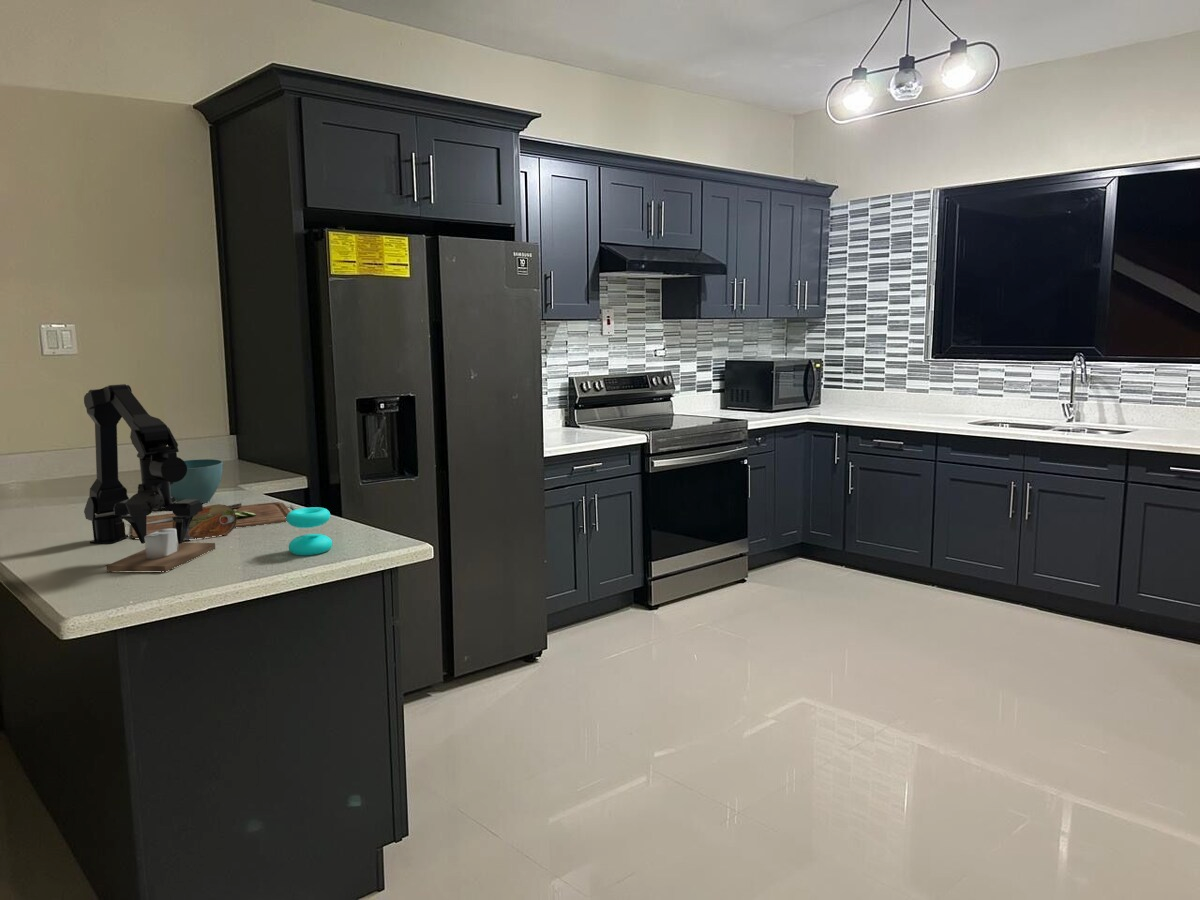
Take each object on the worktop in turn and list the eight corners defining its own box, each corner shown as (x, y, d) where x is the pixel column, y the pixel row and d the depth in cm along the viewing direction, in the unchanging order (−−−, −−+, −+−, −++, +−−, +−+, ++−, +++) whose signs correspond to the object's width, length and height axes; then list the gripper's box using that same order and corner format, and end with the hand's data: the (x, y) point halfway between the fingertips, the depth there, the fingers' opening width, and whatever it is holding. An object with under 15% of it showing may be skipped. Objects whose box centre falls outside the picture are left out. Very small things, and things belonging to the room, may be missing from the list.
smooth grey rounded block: (142, 558, 196) (140, 537, 196) (166, 548, 205) (164, 528, 204) (158, 559, 196) (156, 537, 195) (182, 548, 205) (180, 528, 204)
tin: (175, 543, 216) (172, 511, 215) (173, 541, 219) (169, 509, 217) (238, 534, 225) (235, 502, 224) (235, 531, 227) (232, 500, 226)
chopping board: (121, 544, 219) (119, 532, 218) (123, 523, 242) (122, 512, 242) (304, 521, 239) (303, 511, 239) (290, 504, 263) (289, 494, 262)
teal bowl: (225, 505, 261) (221, 465, 259) (158, 511, 255) (154, 470, 253) (226, 494, 278) (223, 457, 276) (164, 500, 271) (160, 461, 269)
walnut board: (107, 571, 192) (106, 565, 192) (161, 548, 211) (161, 542, 211) (165, 572, 190) (165, 566, 190) (215, 548, 210) (214, 542, 210)
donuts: (330, 504, 211) (329, 513, 201) (333, 544, 212) (332, 554, 203) (287, 508, 208) (284, 516, 198) (290, 548, 209) (287, 558, 200)
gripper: (93, 484, 191) (101, 552, 193) (172, 484, 189) (179, 553, 191) (126, 475, 202) (133, 539, 204) (201, 475, 200) (206, 540, 202)
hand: (161, 543), depth 200 cm, fingers open, 9 cm apart
